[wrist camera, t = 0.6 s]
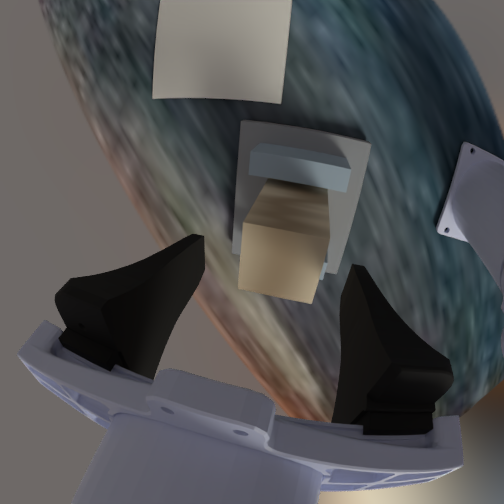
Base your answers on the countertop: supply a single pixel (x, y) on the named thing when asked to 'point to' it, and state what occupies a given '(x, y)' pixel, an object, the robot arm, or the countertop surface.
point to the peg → (285, 241)
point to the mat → (221, 49)
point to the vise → (301, 174)
